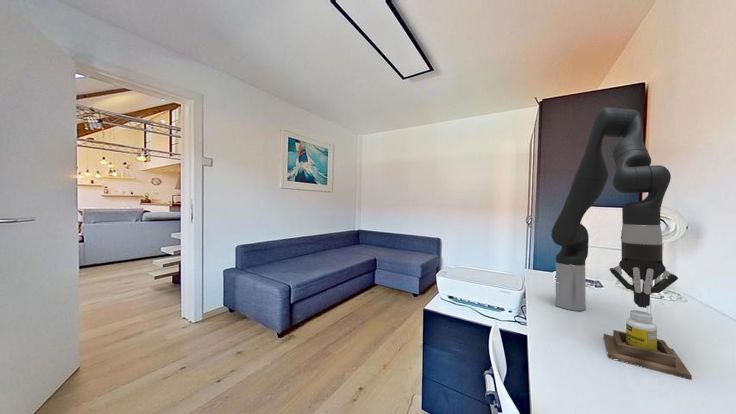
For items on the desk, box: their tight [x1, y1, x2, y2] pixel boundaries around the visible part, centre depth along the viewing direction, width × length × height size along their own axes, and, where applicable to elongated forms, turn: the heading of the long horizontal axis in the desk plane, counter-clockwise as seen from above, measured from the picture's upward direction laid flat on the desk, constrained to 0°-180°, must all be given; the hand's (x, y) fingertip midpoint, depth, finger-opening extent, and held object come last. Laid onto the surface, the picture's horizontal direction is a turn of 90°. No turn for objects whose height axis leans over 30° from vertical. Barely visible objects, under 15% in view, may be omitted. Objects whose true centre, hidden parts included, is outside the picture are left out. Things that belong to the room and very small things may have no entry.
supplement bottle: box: [625, 309, 658, 351], centre depth 70 cm, size 6×6×10 cm
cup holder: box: [603, 329, 693, 381], centre depth 70 cm, size 14×14×4 cm
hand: (641, 306), depth 69 cm, fingers closed
